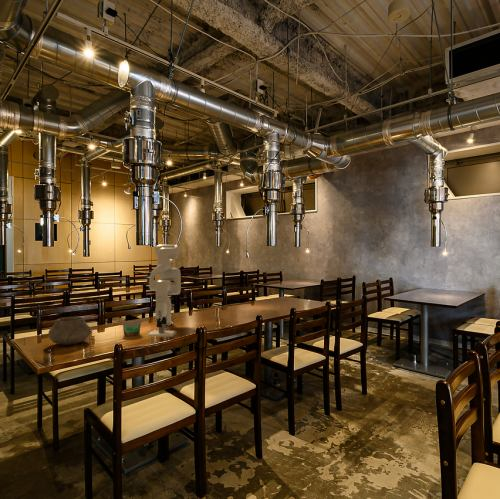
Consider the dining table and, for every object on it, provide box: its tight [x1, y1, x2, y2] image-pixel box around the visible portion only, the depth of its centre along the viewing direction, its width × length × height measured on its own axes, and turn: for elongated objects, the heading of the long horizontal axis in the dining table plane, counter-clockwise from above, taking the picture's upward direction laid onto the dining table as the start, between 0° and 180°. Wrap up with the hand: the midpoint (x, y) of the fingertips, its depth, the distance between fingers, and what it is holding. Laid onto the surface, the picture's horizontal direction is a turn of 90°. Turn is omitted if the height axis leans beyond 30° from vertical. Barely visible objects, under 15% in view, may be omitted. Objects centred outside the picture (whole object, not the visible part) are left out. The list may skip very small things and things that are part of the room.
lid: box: [147, 324, 176, 337], centre depth 215 cm, size 10×15×6 cm, turn 88°
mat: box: [146, 331, 177, 338], centre depth 215 cm, size 13×17×1 cm
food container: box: [121, 319, 142, 337], centre depth 211 cm, size 12×6×10 cm, turn 105°
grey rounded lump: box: [47, 316, 92, 346], centre depth 195 cm, size 22×21×15 cm
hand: (161, 325), depth 214 cm, fingers open, 9 cm apart
